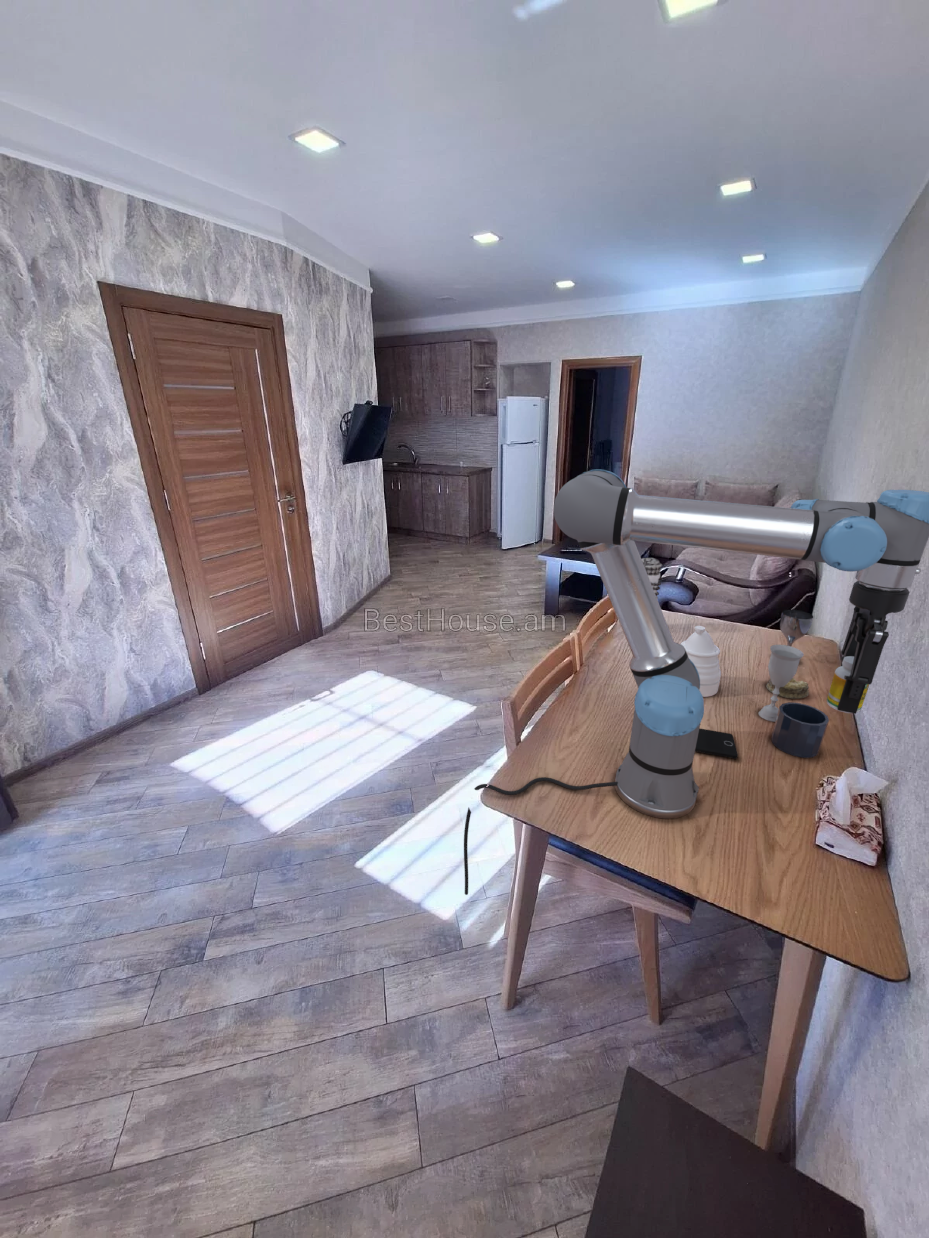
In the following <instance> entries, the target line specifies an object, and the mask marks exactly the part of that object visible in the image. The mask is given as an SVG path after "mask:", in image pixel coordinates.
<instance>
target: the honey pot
mask: <svg viewBox="0 0 929 1238" xmlns="http://www.w3.org/2000/svg"><path fill="white" fill-rule="evenodd" d="M680 644H681V645H683V646H684V648H685V650H686V653H687V655H688V657H689V659H690V660H691V661H692V662H693V663H694V665H695V667H696V668H697V671H698V673H699V677H700V689H699V691H700V692H701V694H702V696H703V698H707V697H711V696H714V695H716V694H717V693H718V691H719V686H720V681H721V677H722V671H721V669H720V660H719V655H720V654H721V650H720V648H719V647H718V646H717V645H716V644H715V642H714V640H713V638H712V636H711V634H710V633H709V632H708V631H707V630H706V626H702V625H696V626H694V632H693V633H692V634H690V635H689V636H688V638H687V639H685V640H683V641H682V642H681V643H680Z"/></svg>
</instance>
